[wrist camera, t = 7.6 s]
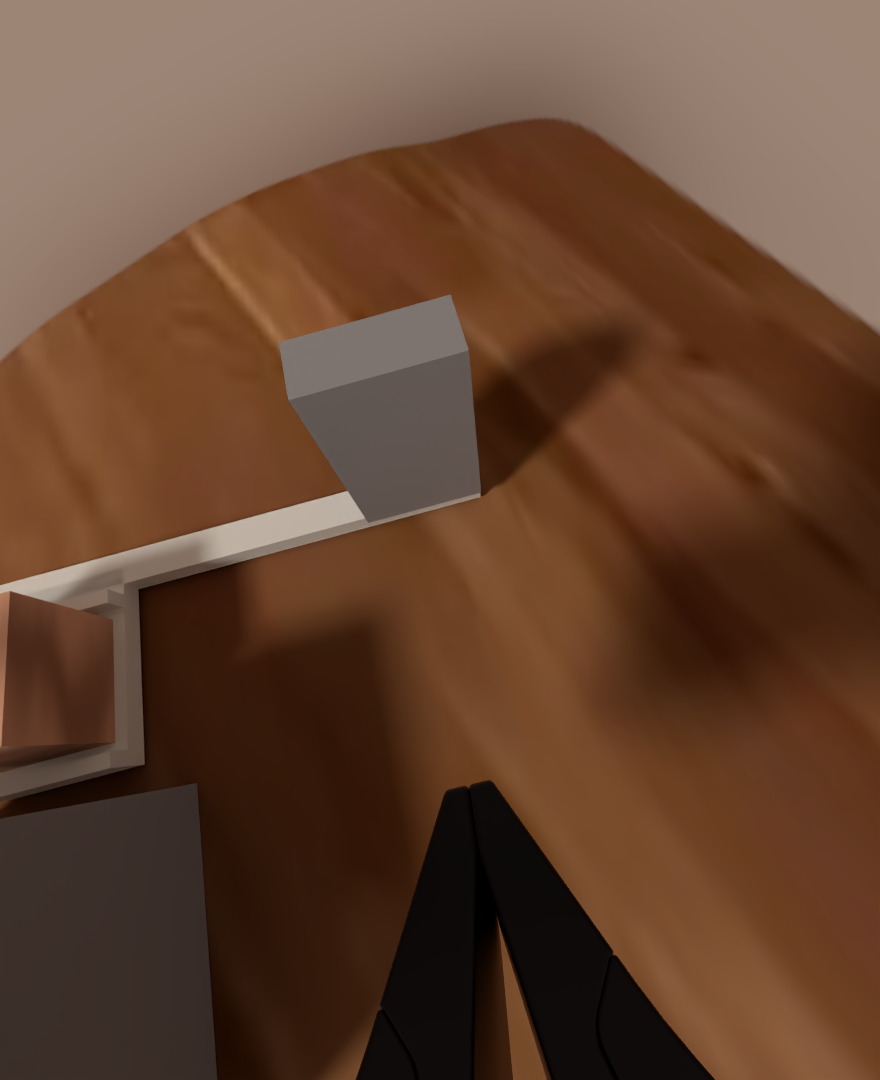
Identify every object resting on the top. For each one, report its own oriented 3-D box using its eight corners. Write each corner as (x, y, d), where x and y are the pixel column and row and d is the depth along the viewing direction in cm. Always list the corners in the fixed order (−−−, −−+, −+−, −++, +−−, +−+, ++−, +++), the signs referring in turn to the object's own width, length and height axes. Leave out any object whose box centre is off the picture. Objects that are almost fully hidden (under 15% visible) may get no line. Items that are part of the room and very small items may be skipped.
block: (115, 742, 21) (1, 746, 16) (-7, 774, 21) (-155, 788, 16) (113, 619, 22) (9, 590, 18) (1, 649, 22) (-131, 629, 18)
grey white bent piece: (530, 663, 21) (554, 609, 11) (3, 801, 21) (-390, 860, 12) (470, 463, 24) (450, 294, 15) (14, 587, 24) (-287, 500, 15)
